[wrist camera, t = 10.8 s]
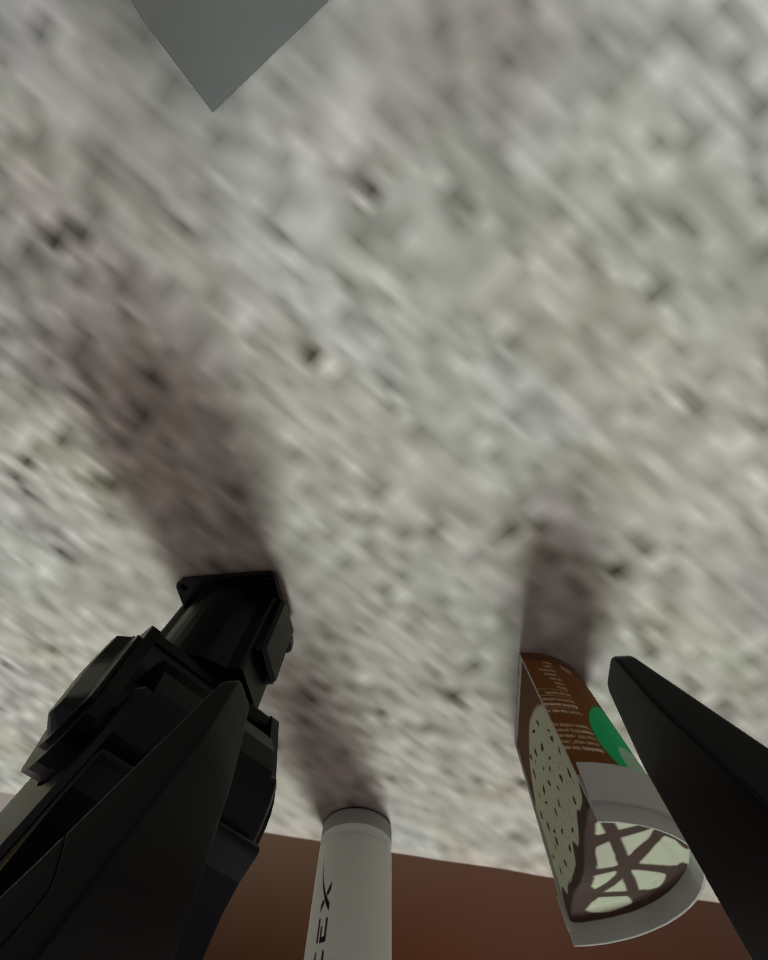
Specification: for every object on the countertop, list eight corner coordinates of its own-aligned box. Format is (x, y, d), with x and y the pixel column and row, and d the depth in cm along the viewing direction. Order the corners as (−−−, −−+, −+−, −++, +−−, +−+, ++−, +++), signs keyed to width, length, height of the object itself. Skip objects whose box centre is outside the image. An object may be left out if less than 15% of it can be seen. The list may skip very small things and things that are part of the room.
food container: (591, 752, 28) (689, 950, 19) (513, 755, 29) (573, 951, 19) (611, 631, 24) (750, 809, 15) (520, 636, 25) (599, 814, 15)
